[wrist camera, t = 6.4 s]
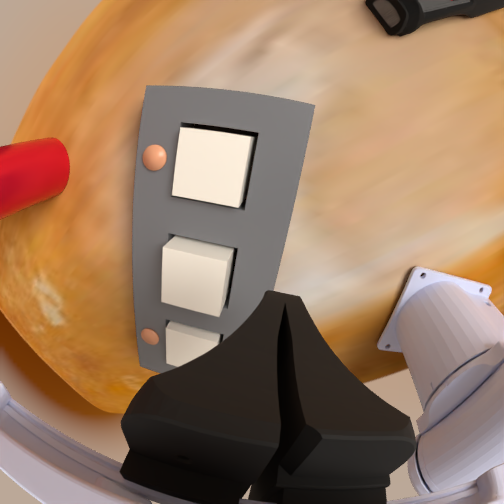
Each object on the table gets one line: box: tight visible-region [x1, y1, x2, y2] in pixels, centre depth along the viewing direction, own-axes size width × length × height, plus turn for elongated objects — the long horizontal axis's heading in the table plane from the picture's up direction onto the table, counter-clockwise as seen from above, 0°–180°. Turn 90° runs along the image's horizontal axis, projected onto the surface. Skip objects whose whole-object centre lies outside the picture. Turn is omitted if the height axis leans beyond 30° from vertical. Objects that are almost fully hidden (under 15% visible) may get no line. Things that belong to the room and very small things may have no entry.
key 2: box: [166, 320, 223, 367], centre depth 22 cm, size 4×4×3 cm
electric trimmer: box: [366, 0, 504, 36], centre depth 9 cm, size 4×16×3 cm, turn 121°
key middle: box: [161, 235, 236, 317], centre depth 19 cm, size 4×4×3 cm
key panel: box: [132, 86, 315, 373], centre depth 20 cm, size 10×23×3 cm, turn 170°
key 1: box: [172, 127, 258, 208], centre depth 17 cm, size 4×4×3 cm
